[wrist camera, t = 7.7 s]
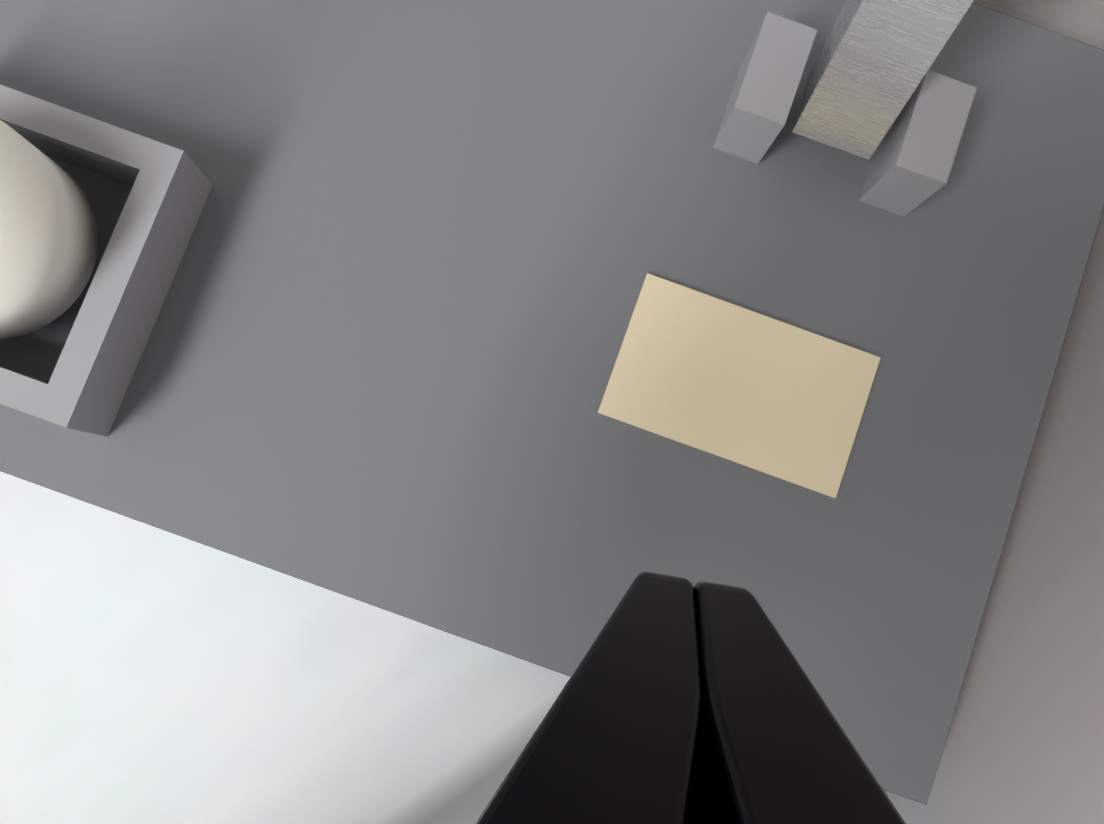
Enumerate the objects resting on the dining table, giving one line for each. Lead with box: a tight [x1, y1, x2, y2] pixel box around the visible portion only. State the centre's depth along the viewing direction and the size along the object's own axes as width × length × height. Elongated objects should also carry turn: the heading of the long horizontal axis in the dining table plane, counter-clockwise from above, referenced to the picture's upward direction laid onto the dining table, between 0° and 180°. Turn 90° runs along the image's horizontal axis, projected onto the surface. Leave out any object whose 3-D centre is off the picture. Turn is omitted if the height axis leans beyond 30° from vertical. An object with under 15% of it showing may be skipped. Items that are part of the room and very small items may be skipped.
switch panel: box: [0, 0, 1104, 805], centre depth 20 cm, size 16×26×4 cm, turn 70°
